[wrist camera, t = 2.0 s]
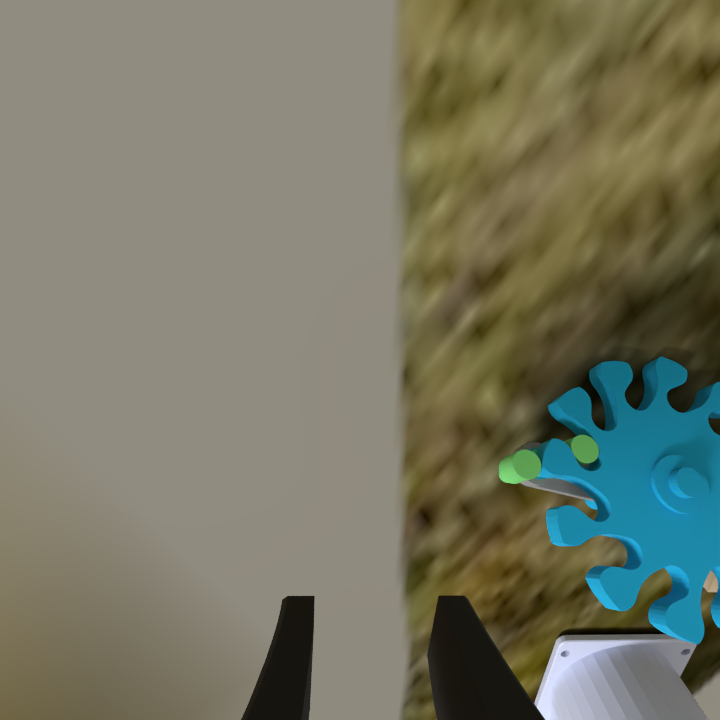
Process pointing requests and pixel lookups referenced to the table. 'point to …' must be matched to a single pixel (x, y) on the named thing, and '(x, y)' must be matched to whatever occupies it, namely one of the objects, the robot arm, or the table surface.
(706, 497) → the gear
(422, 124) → the table surface
